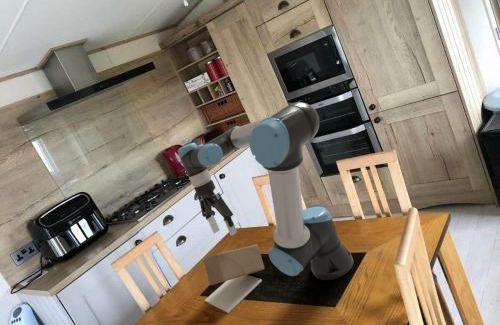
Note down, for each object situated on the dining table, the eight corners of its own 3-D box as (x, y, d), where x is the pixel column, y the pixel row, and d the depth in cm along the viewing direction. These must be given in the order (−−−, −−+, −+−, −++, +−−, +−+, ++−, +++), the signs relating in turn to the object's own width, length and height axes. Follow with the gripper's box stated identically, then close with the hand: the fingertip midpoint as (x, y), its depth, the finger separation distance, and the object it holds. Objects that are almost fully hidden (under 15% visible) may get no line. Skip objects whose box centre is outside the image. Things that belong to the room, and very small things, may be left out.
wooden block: (265, 269, 145) (223, 281, 132) (250, 273, 152) (209, 285, 139) (258, 243, 147) (216, 253, 135) (244, 249, 155) (202, 259, 142)
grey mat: (262, 280, 143) (261, 279, 143) (228, 313, 133) (227, 311, 133) (237, 272, 156) (237, 271, 155) (205, 301, 146) (204, 300, 146)
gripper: (226, 176, 132) (250, 229, 135) (196, 180, 152) (217, 226, 156) (210, 186, 128) (234, 240, 131) (181, 188, 148) (202, 235, 152)
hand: (225, 232), depth 144 cm, fingers open, 13 cm apart
